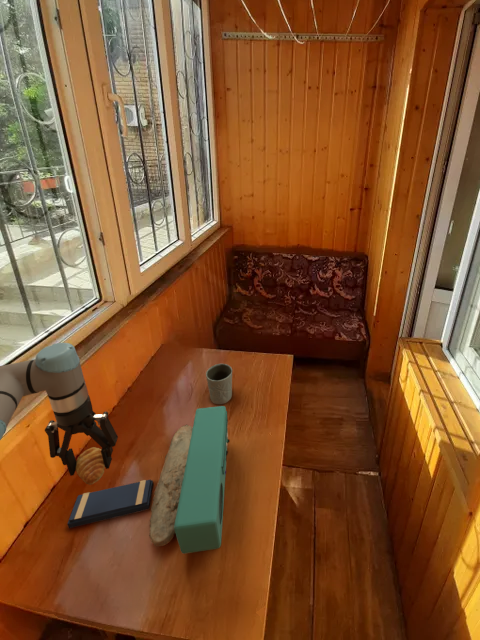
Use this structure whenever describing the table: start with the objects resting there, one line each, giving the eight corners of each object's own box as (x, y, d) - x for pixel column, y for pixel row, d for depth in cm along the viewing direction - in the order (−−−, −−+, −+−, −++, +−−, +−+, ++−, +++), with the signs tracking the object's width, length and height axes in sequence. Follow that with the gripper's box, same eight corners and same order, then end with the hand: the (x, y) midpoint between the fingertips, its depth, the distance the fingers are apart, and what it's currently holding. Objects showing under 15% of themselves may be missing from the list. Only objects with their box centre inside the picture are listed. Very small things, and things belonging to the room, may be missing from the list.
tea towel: (68, 528, 82) (66, 522, 81) (79, 500, 89) (76, 494, 88) (149, 509, 87) (147, 503, 86) (153, 484, 93) (152, 477, 92)
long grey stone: (202, 431, 111) (173, 435, 110) (199, 419, 110) (171, 423, 109) (183, 545, 78) (142, 553, 77) (179, 530, 77) (137, 538, 76)
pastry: (111, 474, 82) (108, 464, 81) (82, 493, 78) (78, 482, 77) (102, 450, 89) (99, 440, 88) (74, 466, 85) (71, 456, 83)
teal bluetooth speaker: (224, 561, 76) (220, 521, 71) (180, 568, 74) (172, 528, 69) (231, 437, 107) (228, 404, 102) (200, 441, 106) (195, 407, 101)
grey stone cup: (207, 406, 120) (204, 382, 116) (209, 387, 129) (207, 364, 125) (233, 404, 121) (231, 379, 117) (234, 385, 131) (232, 362, 127)
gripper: (121, 384, 82) (135, 447, 90) (31, 397, 78) (55, 462, 85) (112, 406, 75) (129, 472, 83) (13, 422, 71) (41, 490, 79)
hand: (91, 467), depth 84 cm, fingers closed on pastry, 8 cm apart
